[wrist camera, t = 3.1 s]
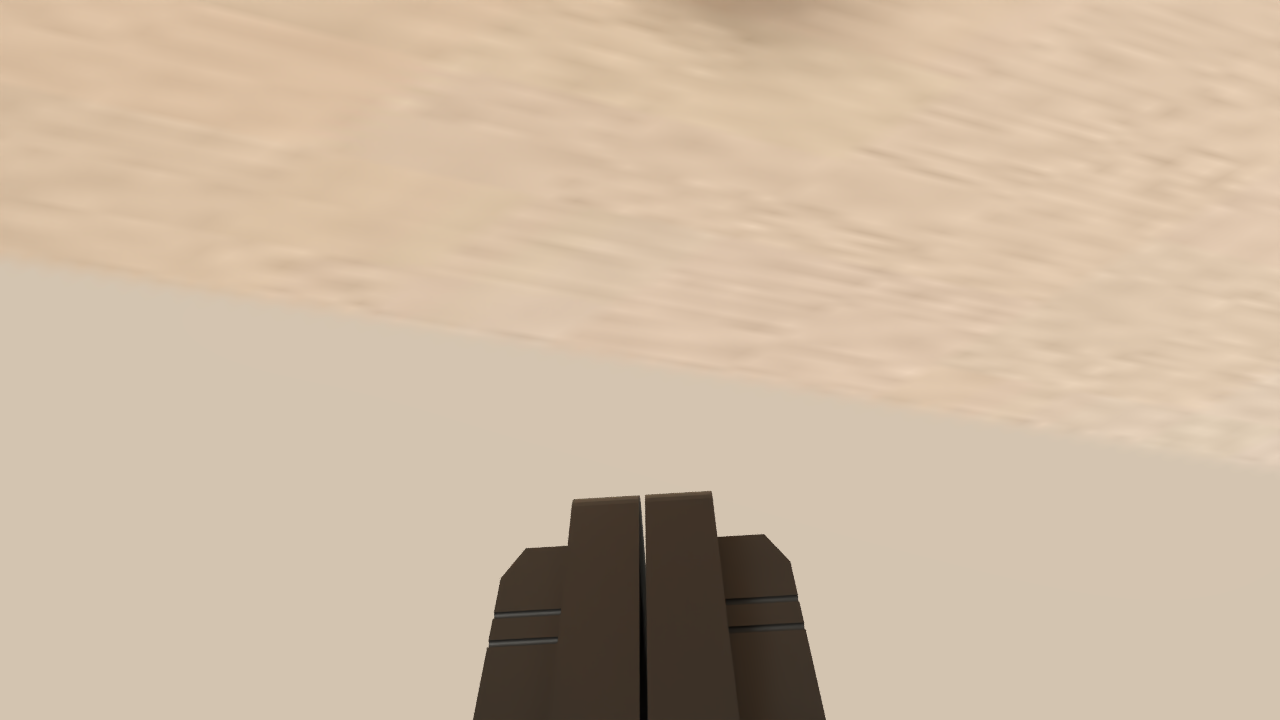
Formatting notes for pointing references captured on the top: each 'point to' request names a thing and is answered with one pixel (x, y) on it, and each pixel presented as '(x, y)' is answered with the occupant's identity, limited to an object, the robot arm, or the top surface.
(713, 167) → the top surface
